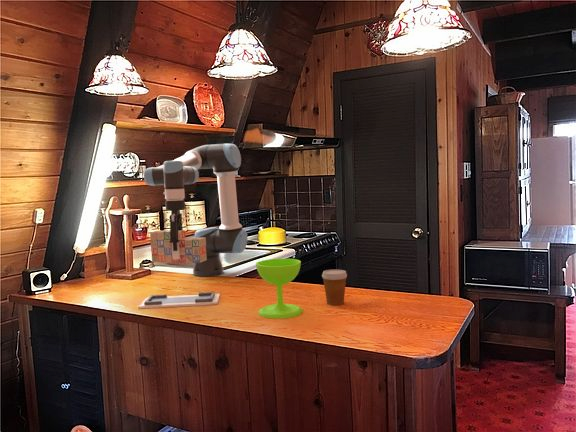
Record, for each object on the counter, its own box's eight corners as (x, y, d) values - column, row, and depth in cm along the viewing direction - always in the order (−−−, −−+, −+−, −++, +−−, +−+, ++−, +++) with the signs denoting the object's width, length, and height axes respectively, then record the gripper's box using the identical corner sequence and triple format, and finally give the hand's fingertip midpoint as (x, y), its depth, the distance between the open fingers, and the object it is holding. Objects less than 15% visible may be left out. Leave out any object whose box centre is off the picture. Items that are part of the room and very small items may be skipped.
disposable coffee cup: (330, 307, 181) (329, 275, 180) (318, 302, 190) (317, 271, 189) (353, 304, 185) (352, 272, 184) (339, 298, 194) (338, 268, 193)
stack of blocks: (207, 260, 198) (205, 229, 197) (200, 263, 192) (198, 231, 191) (159, 259, 204) (158, 229, 203) (151, 262, 198) (149, 231, 197)
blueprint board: (146, 299, 205) (146, 294, 205) (220, 295, 206) (219, 290, 206) (138, 308, 191) (138, 303, 191) (217, 304, 192) (216, 299, 192)
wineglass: (286, 303, 189) (284, 256, 188) (311, 312, 176) (309, 262, 175) (250, 311, 181) (247, 262, 179) (273, 321, 167) (271, 268, 166)
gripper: (170, 199, 206) (173, 253, 208) (159, 201, 186) (163, 262, 188) (188, 198, 207) (191, 253, 208) (180, 200, 186) (183, 261, 188)
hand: (178, 257), depth 198 cm, fingers closed on stack of blocks, 8 cm apart
